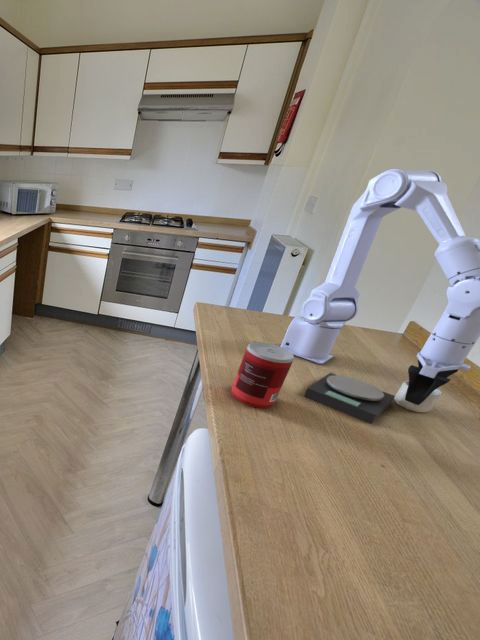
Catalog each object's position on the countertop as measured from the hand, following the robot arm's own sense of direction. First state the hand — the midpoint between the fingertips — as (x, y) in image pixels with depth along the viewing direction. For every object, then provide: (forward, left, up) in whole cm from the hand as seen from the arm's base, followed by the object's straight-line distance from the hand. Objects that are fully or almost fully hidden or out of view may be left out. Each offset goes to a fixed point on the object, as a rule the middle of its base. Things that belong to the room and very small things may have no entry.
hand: (415, 398), depth 83 cm
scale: (-8, -9, -2) cm, 13 cm away
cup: (0, 0, -2) cm, 2 cm away
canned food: (-19, -27, -2) cm, 33 cm away
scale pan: (-8, -9, +1) cm, 12 cm away
